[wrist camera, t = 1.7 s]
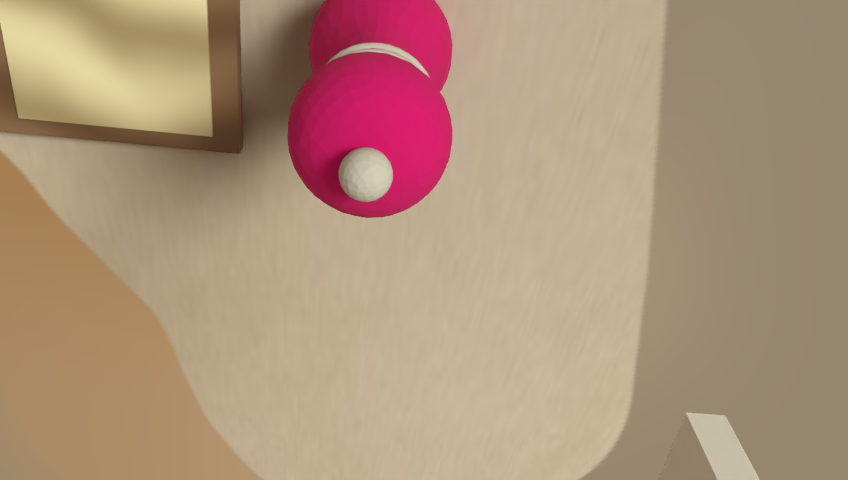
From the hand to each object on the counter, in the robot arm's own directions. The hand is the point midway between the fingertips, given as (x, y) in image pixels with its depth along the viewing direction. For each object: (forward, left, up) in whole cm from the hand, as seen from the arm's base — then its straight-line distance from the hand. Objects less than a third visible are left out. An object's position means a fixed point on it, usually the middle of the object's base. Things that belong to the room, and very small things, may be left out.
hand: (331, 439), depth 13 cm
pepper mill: (0, 0, -31) cm, 31 cm away
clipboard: (0, -15, -30) cm, 34 cm away
